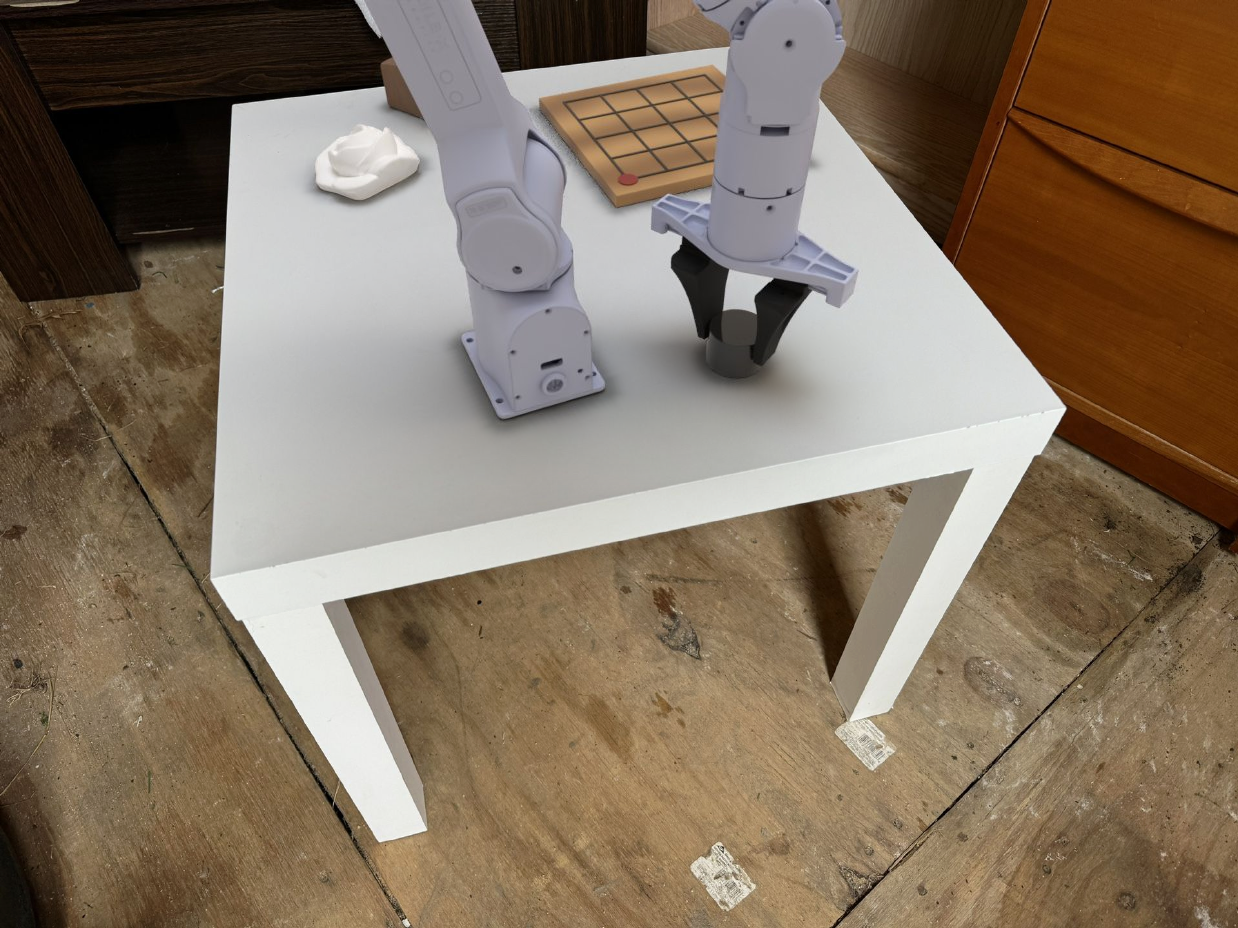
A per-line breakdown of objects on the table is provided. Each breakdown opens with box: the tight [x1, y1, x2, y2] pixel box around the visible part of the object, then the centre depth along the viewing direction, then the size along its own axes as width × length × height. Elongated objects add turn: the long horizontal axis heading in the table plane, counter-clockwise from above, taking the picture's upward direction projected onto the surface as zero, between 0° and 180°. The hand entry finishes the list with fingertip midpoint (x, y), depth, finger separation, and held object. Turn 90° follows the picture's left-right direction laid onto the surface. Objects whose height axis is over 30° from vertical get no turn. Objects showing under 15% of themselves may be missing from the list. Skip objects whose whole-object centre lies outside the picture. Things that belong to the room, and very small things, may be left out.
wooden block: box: [380, 56, 424, 119], centre depth 84 cm, size 9×4×18 cm, turn 56°
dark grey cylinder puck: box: [705, 308, 762, 379], centre depth 64 cm, size 4×4×3 cm
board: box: [538, 64, 726, 208], centre depth 87 cm, size 20×20×1 cm
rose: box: [314, 123, 421, 201], centre depth 80 cm, size 10×4×10 cm
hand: (736, 344), depth 64 cm, fingers closed on dark grey cylinder puck, 4 cm apart
